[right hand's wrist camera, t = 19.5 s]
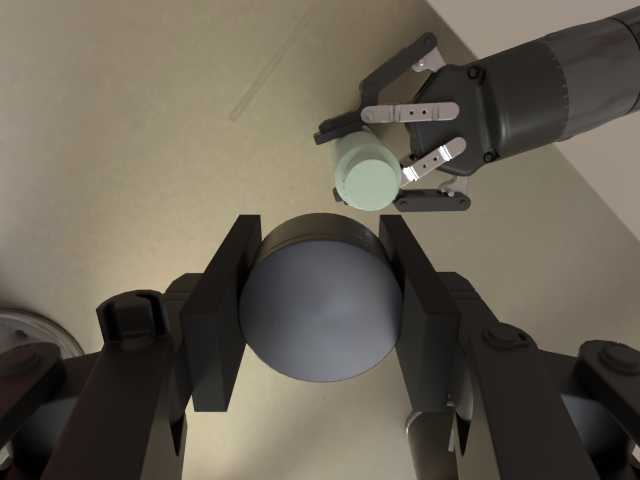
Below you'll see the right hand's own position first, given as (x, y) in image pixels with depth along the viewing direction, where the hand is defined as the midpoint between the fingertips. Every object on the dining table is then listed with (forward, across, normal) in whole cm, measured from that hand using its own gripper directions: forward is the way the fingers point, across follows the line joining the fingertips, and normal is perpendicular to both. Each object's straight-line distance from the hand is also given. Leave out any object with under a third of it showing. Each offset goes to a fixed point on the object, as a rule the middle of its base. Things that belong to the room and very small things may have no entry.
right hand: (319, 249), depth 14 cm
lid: (-4, 0, 0) cm, 4 cm away
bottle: (+24, +3, +1) cm, 24 cm away
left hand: (+17, 0, 0) cm, 17 cm away
